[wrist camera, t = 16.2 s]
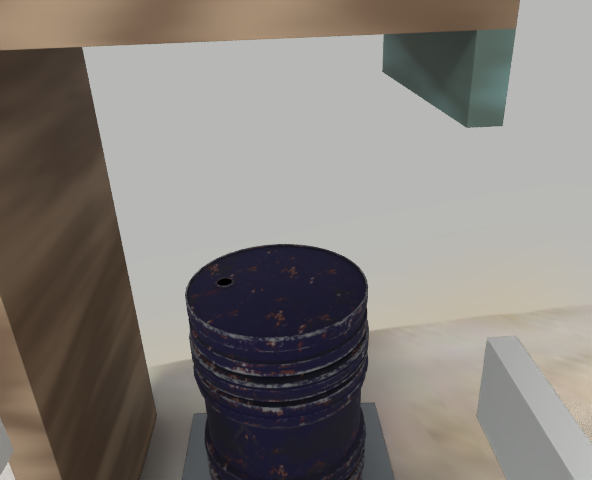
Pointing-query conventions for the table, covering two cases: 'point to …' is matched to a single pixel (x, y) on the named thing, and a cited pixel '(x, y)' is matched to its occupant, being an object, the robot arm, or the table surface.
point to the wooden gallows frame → (100, 207)
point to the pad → (375, 464)
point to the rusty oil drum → (281, 363)
